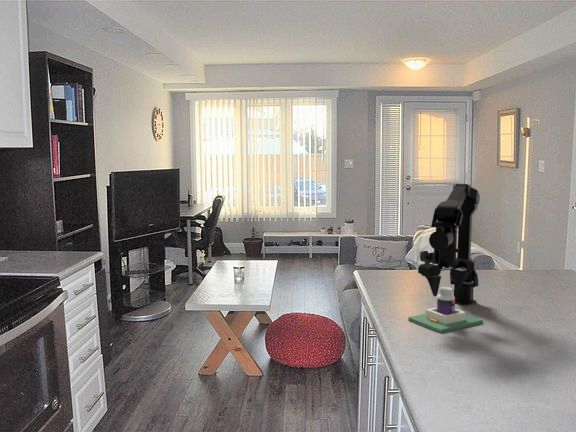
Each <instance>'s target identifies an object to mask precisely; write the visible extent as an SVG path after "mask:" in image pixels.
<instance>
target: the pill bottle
mask: <svg viewBox="0 0 576 432" xmlns="http://www.w3.org/2000/svg"><path fill="white" fill-rule="evenodd" d="M436 307H437V312H438V313H441V314H443V315H449V314H454V313H455V309H456V302H455V297H454V288H452V287H448V286H441V287H439V293H438V294H437V296H436Z"/></svg>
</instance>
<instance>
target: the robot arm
mask: <svg viewBox="0 0 576 432" xmlns="http://www.w3.org/2000/svg"><path fill="white" fill-rule="evenodd" d="M480 197H481V196H480V193H479V190H478V189H476V188H475V187H472V186H471V184H468V183H454V184H453V185H452V191H451V192H450V194H449V196H448V197H447V199H446V200H445V201H441V202H440V203H439V204H437V206H436V207H435V208H434V211H433V216H432V217H433V218H432V221H431V225H430V227H431V228H435V231H433V232H432V233H431V234H430V235H429V238H428V243H429V245H430V247H431V248H432V249H433V252H429V251H428V250H422V251H420V253H419V259H420V262H424V263H421V264H419V265H418V269H417V274H419V275H421V277H425V279H426V280H427V282H428V284H429V287H430V290H431V293H432V296H433V297H437V296H438V294H439V290H440V285H441V279H442V276H441V275H440V274H441V273H442V271H443V272H445V271H449V277H450V278H449V279H450V285H452V286H453V296H454V297H455V303H458V304H461V305H469V304H473V303H477V300H476V299H474V288H476V287H479V276H478V272H477V270H476V265H475V262H474V260H473V258H472V257H471V252H472V251H471V250H472V229H473V228H472V227H473V215H474V214H475V213H476V211H477V210H478V207H479V204H480V200H481V198H480Z"/></svg>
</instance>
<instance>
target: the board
mask: <svg viewBox="0 0 576 432" xmlns="http://www.w3.org/2000/svg"><path fill="white" fill-rule="evenodd" d="M407 320H408V321H409V322H412V323H414V324H417V325H419V326H422V327H425V328H427V329H428V330H431V331H434V332H437V333H439V334H443V333H446V332H451V331H455V330H459V329H463V328H469V327H472V326H476V325H481V324H483V323H484V319H481V318H478V317H475V316H472V315H469V314H466V312H465V311H463V310H460V309H456V308H455V313H454V314H449V315H443V314H441V313H438V312H437V306H436V307H432V308H426V309H425V313H422V314H417V315H413V316H408V318H407Z"/></svg>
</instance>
